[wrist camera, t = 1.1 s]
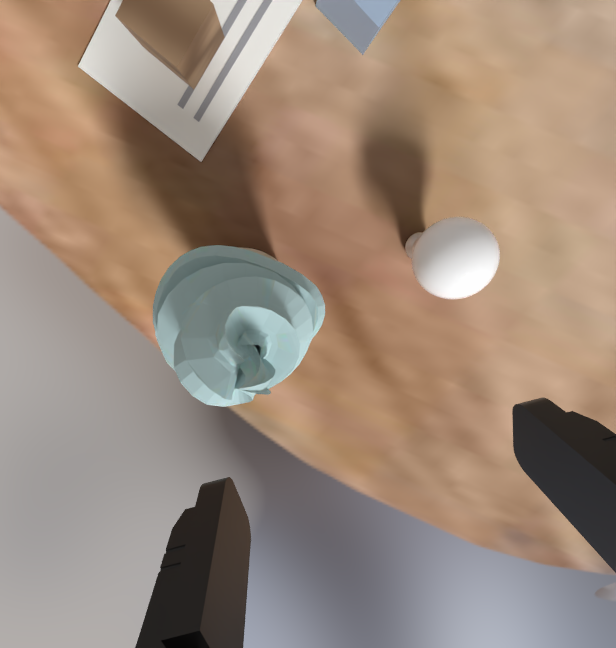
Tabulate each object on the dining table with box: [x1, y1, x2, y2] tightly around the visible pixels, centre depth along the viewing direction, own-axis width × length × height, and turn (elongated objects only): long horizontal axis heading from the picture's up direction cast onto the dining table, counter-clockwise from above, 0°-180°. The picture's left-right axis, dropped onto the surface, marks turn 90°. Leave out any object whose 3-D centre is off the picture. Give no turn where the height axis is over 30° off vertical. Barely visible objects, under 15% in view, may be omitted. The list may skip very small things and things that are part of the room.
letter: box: [78, 0, 302, 162], centre depth 27 cm, size 15×11×1 cm
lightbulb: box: [405, 217, 500, 299], centre depth 29 cm, size 6×6×11 cm
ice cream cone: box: [153, 245, 325, 407], centre depth 25 cm, size 10×11×20 cm
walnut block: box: [115, 0, 225, 89], centre depth 25 cm, size 4×4×5 cm
